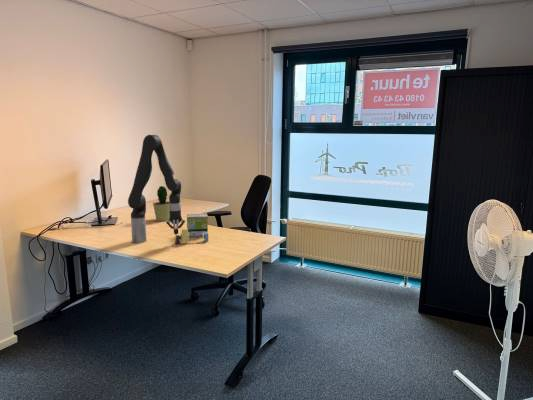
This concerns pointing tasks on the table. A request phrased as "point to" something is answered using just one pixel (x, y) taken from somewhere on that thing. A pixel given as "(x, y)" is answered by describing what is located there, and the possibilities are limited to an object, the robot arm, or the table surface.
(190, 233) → the tea box
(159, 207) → the potted cactus
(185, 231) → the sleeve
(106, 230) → the table surface
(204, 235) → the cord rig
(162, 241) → the table surface
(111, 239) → the table surface
